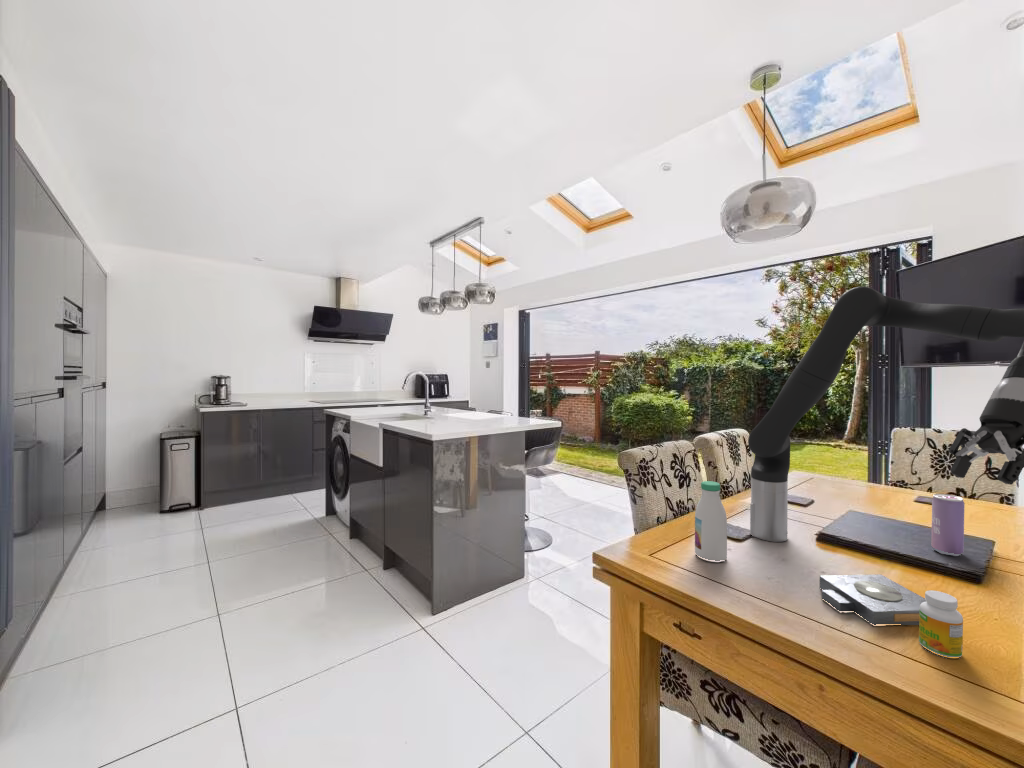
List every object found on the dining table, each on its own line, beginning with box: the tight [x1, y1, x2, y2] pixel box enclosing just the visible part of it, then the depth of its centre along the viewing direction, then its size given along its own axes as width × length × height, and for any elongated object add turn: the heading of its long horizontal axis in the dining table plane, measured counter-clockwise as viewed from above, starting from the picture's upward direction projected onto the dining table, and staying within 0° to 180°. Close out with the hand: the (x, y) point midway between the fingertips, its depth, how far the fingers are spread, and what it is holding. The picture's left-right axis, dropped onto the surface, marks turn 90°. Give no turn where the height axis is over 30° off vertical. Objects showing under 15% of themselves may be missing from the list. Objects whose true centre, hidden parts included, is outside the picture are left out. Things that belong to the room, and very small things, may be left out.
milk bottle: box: [694, 480, 728, 561], centre depth 111 cm, size 8×8×20 cm
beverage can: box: [930, 493, 965, 554], centre depth 112 cm, size 6×6×15 cm
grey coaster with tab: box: [819, 573, 926, 625], centre depth 88 cm, size 17×14×3 cm
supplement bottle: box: [918, 589, 964, 658], centre depth 74 cm, size 5×5×10 cm
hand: (979, 478), depth 81 cm, fingers open, 8 cm apart
